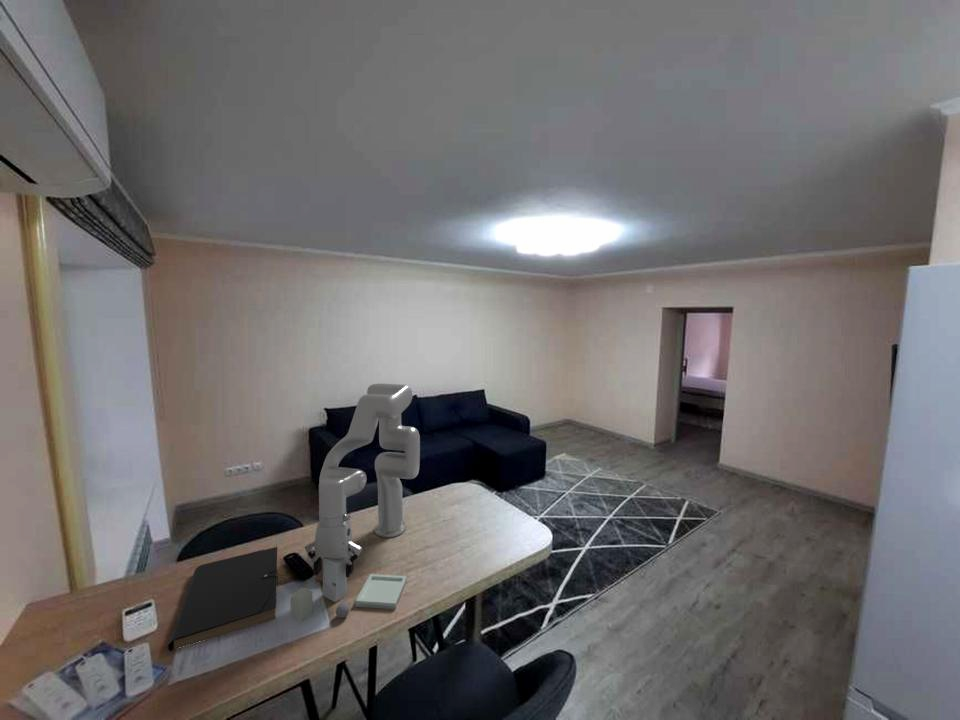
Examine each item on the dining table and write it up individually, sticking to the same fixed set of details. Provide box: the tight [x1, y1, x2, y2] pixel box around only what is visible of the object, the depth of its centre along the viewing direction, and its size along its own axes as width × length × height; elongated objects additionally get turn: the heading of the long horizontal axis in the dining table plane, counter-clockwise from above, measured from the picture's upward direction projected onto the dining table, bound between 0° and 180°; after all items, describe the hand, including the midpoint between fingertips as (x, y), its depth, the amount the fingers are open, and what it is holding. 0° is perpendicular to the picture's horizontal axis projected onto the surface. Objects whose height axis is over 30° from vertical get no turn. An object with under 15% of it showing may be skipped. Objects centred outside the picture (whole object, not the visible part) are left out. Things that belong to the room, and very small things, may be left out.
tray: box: [354, 573, 408, 610], centre depth 116 cm, size 12×12×2 cm
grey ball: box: [335, 602, 350, 619], centre depth 107 cm, size 4×4×4 cm
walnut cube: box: [315, 557, 324, 583], centre depth 123 cm, size 5×5×5 cm
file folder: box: [167, 546, 279, 652], centre depth 115 cm, size 33×4×24 cm
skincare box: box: [322, 557, 348, 603], centre depth 115 cm, size 6×4×12 cm
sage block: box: [289, 587, 314, 622], centre depth 107 cm, size 4×4×6 cm
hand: (333, 573), depth 114 cm, fingers open, 9 cm apart
